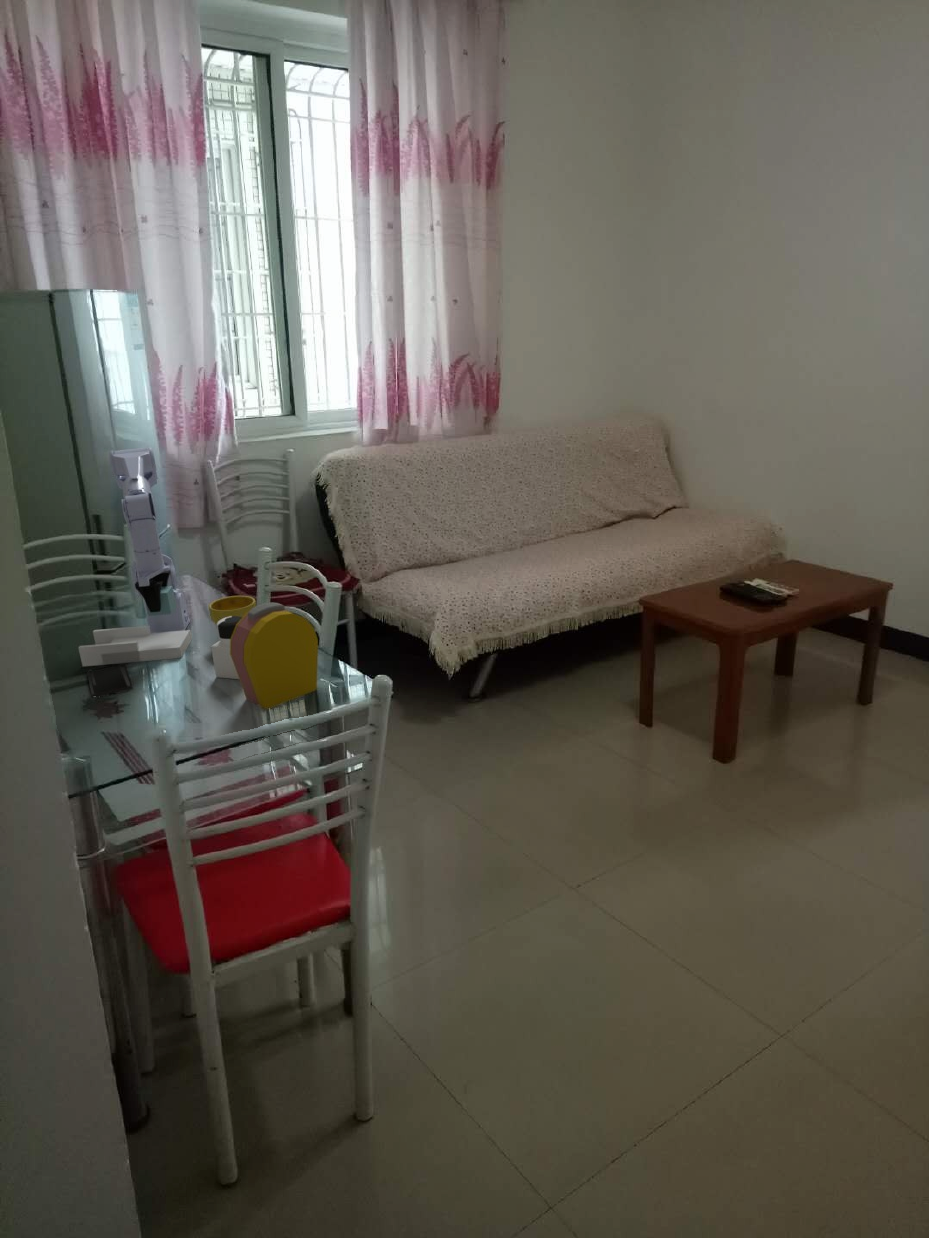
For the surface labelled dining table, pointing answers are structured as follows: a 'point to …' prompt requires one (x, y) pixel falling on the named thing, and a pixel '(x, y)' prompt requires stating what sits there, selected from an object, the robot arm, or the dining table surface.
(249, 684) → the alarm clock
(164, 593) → the teal block
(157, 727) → the dining table surface
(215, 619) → the plant pot
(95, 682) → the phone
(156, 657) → the grey channel
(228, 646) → the medicine bottle
